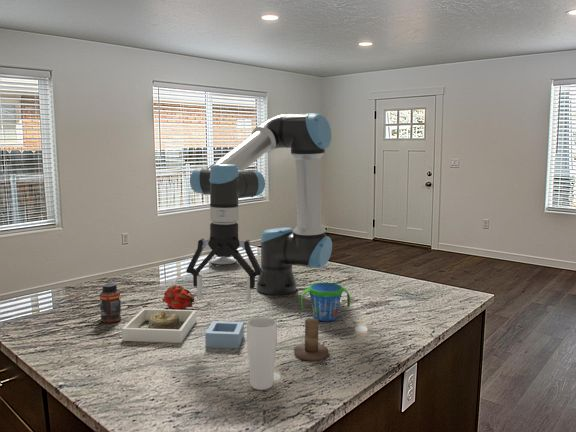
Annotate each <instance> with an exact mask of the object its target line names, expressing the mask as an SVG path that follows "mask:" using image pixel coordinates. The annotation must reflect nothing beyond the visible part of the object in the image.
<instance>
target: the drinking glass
mask: <svg viewBox="0 0 576 432" xmlns="http://www.w3.org/2000/svg"><path fill="white" fill-rule="evenodd" d="M277 323H278V322H277V320H275V319H274V318H270V317H265V316H263V317H262V316H261V317H260V316H259V317H254V318H251V319H249V320H247V322H246V324H247V325H246V344H247V356H248V368H249V369H248V370H249V383H250V387H251V388H252V389H254V390H258V391H265V390H268V389H271V388H272V387H273V385H274V378H275V377H274V376H275V375H274V374H275V363H276V353H277V344H278V343H277V342H278V324H277Z"/></svg>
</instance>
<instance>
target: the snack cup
mask: <svg viewBox="0 0 576 432" xmlns="http://www.w3.org/2000/svg"><path fill="white" fill-rule="evenodd" d="M344 292H345V293H346V298H347V303H346V307H347V308H350V307H351V295H350V292H348V290H347V289H346V288H345V287H343V286H342V285H340V284H338V283H334V282H315V283H313V284H310V285H309V287H308V288H306V289H305V290H304V291H303V292H302V294H301V296H300V297H301V298H300V305H301V308H302V309H304V301H303V299H304V296H305V295H306V294H307V293H309V297H310V300H311V305H312V306H311V307H312V308H311V309H312V315H313V317H314V319H317V320H319V322H330V321H332V322H333V321H335V320H336V319H337V318H338V317H339V316H338V315H339V308H340V304H341V297H342V294H343V293H344Z"/></svg>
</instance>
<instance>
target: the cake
mask: <svg viewBox="0 0 576 432" xmlns="http://www.w3.org/2000/svg"><path fill="white" fill-rule="evenodd" d="M162 312H163V313H162ZM162 312H161V313H162V314H160V313H157V314H153V315H151V316H150V318H149V320H148V326H147V329H176V330H179V329H180V328H181V326H182V324H181V323H182V322H180V320H179V316H178V315H177V314H172V315H171V316H168V315H166V314H165V312H164V311H162Z"/></svg>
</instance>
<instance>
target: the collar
mask: <svg viewBox="0 0 576 432" xmlns="http://www.w3.org/2000/svg"><path fill="white" fill-rule="evenodd" d="M244 322H245V321H223V320H221V321H219V320H218V321H217V320H212V321H211V322H210V325H209V327H207V329H206V331H205V333H204V335H205V336H204V337H205V339H204V340H205V348H216V349H217V348H218V349H219V348H220V349H240V346H241V345H242V341H243V338H244V336H245V333H244V332H245V330H244V328H245V327H244V325H245V323H244Z"/></svg>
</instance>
